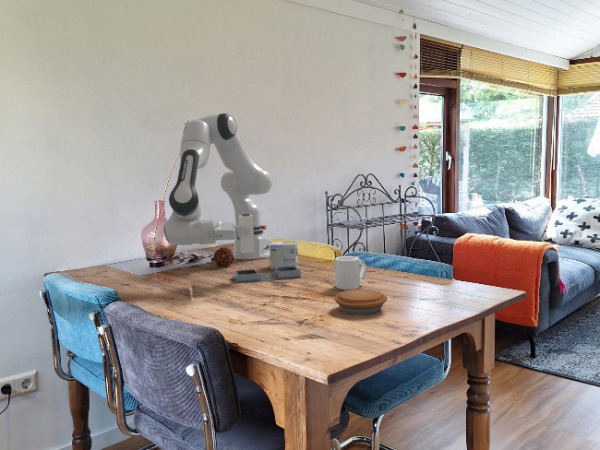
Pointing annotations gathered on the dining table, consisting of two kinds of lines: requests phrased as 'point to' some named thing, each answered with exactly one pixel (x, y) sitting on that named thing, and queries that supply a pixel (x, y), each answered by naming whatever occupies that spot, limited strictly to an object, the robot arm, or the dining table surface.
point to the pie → (360, 301)
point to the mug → (349, 272)
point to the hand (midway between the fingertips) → (248, 230)
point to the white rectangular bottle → (246, 239)
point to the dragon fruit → (223, 257)
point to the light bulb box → (283, 254)
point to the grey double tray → (266, 275)
